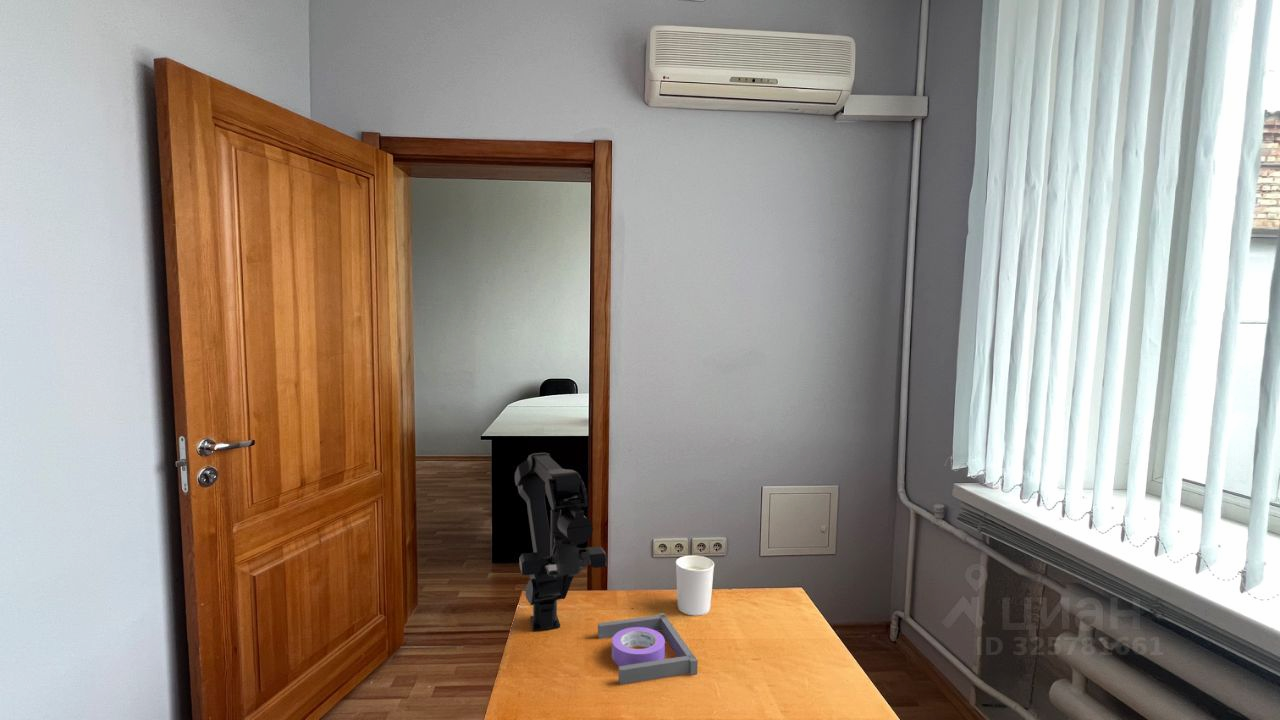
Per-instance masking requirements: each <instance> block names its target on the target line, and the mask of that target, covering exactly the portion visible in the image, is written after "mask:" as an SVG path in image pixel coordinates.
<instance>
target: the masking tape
mask: <svg viewBox="0 0 1280 720" xmlns="http://www.w3.org/2000/svg"><path fill="white" fill-rule="evenodd" d="M665 639H666V638H665V636H664V635H663V633H662V632H659V631H655V630H653V629H650V628H644V627H632V628H626V629H623V630H621V631H619V632H617V633H616V634H615V635H614V636H613V637H611V658H612V661H613V662H614V663H615V664H616V665H617V666H618V667H619V666H625V665H631V664H638V663H644V662H650V661H657V660H663V659H665V656H666V655H665V651H666V646H665V645H666V641H665ZM633 647H642V648H633Z"/></svg>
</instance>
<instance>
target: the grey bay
mask: <svg viewBox="0 0 1280 720" xmlns="http://www.w3.org/2000/svg"><path fill="white" fill-rule="evenodd" d="M632 627H644V628H650V629H653V630H655V631H657V632H659V631H660V633H661V634H662V635H663V637H664V639H666V641H667V642H668V643H669V645H670V646H671V649H673V651H674V653H675V654H676V655H677V656H675V657H671V658H664V659H663V660H657V661H650V662H644V663H638V664H631V665H625V666H619V665H618V673H617V674H618V676H617V677H618V679H617V680H618V682H619V685H620V686H621V685H626V684H633V683H637V682H638V683H639V682H644V681H645V682H646V681H650V680H651V681H652V680H657V679H662V678H670V677H675V676H682V675H687V674H689V675H690V676H696V675H698V664H699V663H698V661H699V660H698V659H697V657H696V656H695V655H694V653H693V652H692V650H691V649H690V648H689V646H688V645H687V644H686V642H685V641H684V639H683V638H682V637H681V635H680V634H679V632H678V631H677V629H676V628H675V627H674V626H673V624H672V623H671V621H670V620H669V619H668V617H667V615H666V614H665V613H664V612H663V613H662V612H661V613H657V615H650V616H644V617H635V618H628V619H620V620H619V619H618V620H611V621H606V622H605V621H604V622H597V637H598V639H600V640H601V639H607V638H608V639H609V638H613V636H614V635H615V634H616V633H617V632H619V631H621V630H623V629H626V628H632Z"/></svg>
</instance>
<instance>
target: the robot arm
mask: <svg viewBox="0 0 1280 720" xmlns="http://www.w3.org/2000/svg"><path fill="white" fill-rule="evenodd" d="M514 484H515V486H516V487H517V490H518V491H517V492H518V494H519V496H520V497H521V498H522V499H523V500H524V501H525V503H526V506H527V515H528V523H529V531H530V537H531V543H532V551H533V552H527V553H521V554H520V556H519V558H518V559H519V569H520V572H521V575H522V576H529V580H528V582H527V583H526V586H525V590H524V592H525V593H524V594H525V598H526V600H527V602H528V603H529V604H530V606H532V615H531V616H530V617H529V620H530V624H531V628H532V630H533V631H543V630H549V629H550V630H551V629H558V628H561V622H560V620H559V617H558V601H559V600H565V599H566V598H567V595H568V591H569V589H570V586H571V584H572V581H573V579H574V577H576V575H578V574H581V573H582V568H585V567H587V566H589V565H590V566H591V567H592V568H594V569H598V568H607V566H608V555H607V553H606V551H605V550H604V549H603V547H601V546H600V545H599V546H590V547H588V546H587V547H585V548H584V547H583V548H582V547H579V545H583V544H585V543H586V542H588V541H589V539H590V538H591V537H592V535H593V532H594V527H593V524H592V522H591V520H590V519H589V518H587V516H585V511H584V509H582V508H585V507H588V506H589V505H588V500H589V495H588V492H587V489H586V486H585V482H584V481H583V478H582V476H581V475H580V474H579V472H578V471H576V470H574V469H568V468H567V469H565V468H564V467H563V468H562V466H561V465H560V464H558V462H556V461H555V460H554V459H553V458H552V456H551V453H549V452H548V453H547V452H538V453H537V452H535V453H532V454H529V455H528V457H527V459H526V460H524V461H523V462H521V463H520V464H518V465H517V467H516V470H515V472H514ZM545 497H547V500H548V504H549V506H550V524H549V519H548V518H549V517H548V512H547V505H546V498H545Z"/></svg>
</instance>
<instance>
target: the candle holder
mask: <svg viewBox="0 0 1280 720" xmlns="http://www.w3.org/2000/svg"><path fill="white" fill-rule="evenodd" d="M675 567H676V569H675V571H676V572H675V573H676V594H677V595H676V596H677V597H676V599H677V609H678V610H679V611H680V612H681V613H682V614H685V615H687V616H703V615H706V614H708V613H709V612H710V611H711V604H712V595H713V594H712V593H713V592H712V591H713V582H714V581H713V580H714V579H713V578H714V569H715V562H714V561H713V560H712V559H710V558H708V557H706V556H701V555H685V556H681V557H678V558H677V559H676V560H675Z"/></svg>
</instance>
